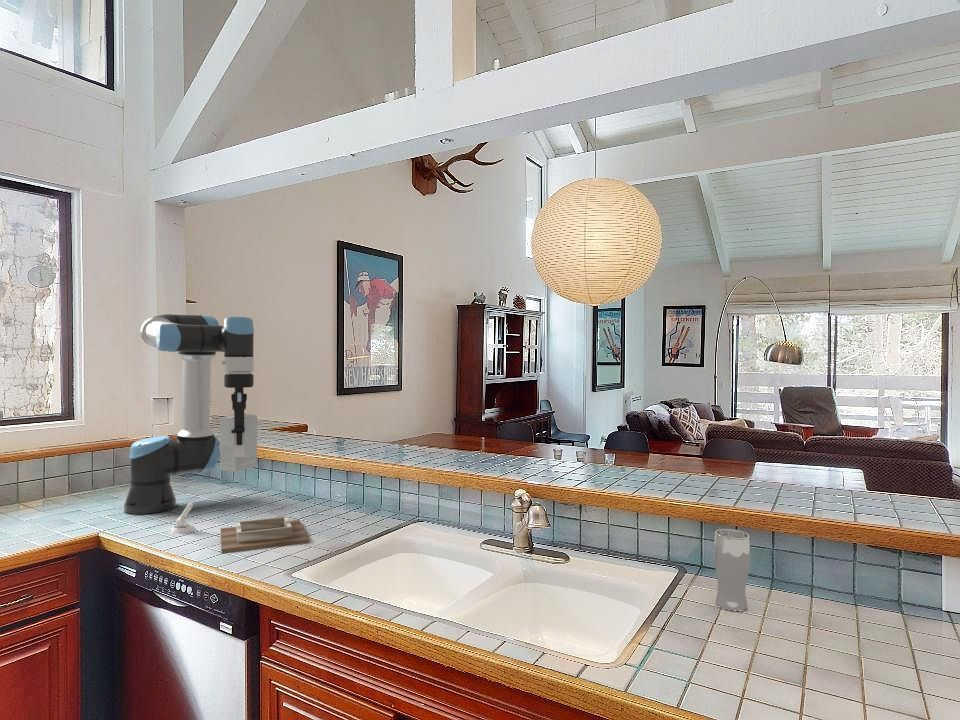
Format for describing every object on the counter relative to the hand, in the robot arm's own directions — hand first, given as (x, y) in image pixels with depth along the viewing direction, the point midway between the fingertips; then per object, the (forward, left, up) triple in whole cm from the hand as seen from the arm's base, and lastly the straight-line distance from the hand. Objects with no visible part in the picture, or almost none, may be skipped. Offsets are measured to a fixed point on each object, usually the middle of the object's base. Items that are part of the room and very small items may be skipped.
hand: (239, 453), depth 164 cm
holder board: (-1, +6, -24) cm, 25 cm away
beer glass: (+86, +91, -24) cm, 128 cm away
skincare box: (0, 0, -4) cm, 4 cm away
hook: (-17, -15, -24) cm, 33 cm away
